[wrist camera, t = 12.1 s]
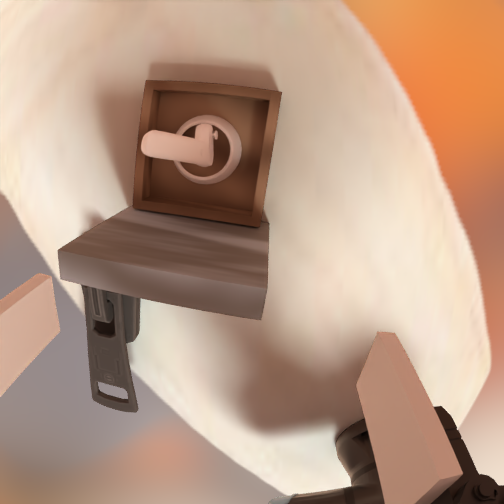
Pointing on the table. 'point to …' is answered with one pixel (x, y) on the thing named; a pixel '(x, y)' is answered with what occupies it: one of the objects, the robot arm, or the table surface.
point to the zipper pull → (111, 343)
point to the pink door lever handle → (195, 147)
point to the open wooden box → (189, 210)
